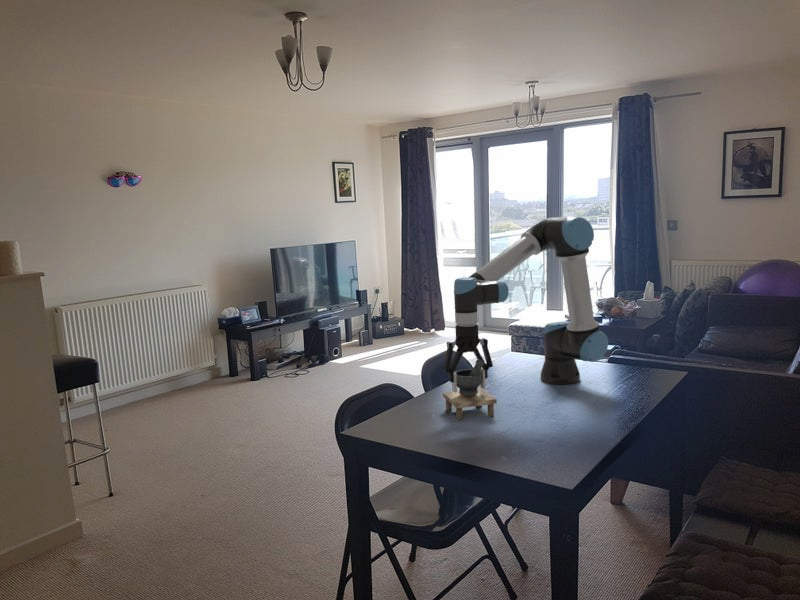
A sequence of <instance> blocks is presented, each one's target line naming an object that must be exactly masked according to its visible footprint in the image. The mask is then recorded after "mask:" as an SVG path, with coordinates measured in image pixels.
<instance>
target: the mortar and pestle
mask: <svg viewBox="0 0 800 600" xmlns="http://www.w3.org/2000/svg"><path fill="white" fill-rule="evenodd" d="M483 365H484V362H483V361H482V360H478V359H476V361H475V364H474V365H473V367H472V368H471V369H460V370H455V371H454V372H455V373H456V378H457V389H459V390H458V391H459V393H460V394H461V395H466V396H469V395H475V394H477V393H478V390H477V388H480V384H481V382H482V377H483V374H482V372H481V371H480V370H481V368H482V366H483ZM482 369H483V368H482Z"/></svg>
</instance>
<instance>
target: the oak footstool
mask: <svg viewBox="0 0 800 600" xmlns="http://www.w3.org/2000/svg"><path fill="white" fill-rule="evenodd" d="M477 390H478V393H477V394H475V395H469V396H466V395H461V394H460V393H459V390H457V392H456V393H455V392H453V391H445V392H442V397H443V398H444V400H445V411H446V410H447V412H451V411H452V410H453V407H454V408H455V413H456V414H455V416H456V417H455V418H456V421H457V422H462V421H463V419H464V417H463V409H464V408H472V407H473V408H474V407H477V408H482V407H483V406H487V416H488V417H490V418H492V417H495V411H494V410H495V404H498V403H497V402H498V401H497V398H496V397H494V396H493V395H491V394H490V393H488V392H487V391H486V390H485V389H482V388H481V387H478V388H477ZM448 410H449V411H448ZM450 410H451V411H450Z"/></svg>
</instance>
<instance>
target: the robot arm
mask: <svg viewBox="0 0 800 600" xmlns="http://www.w3.org/2000/svg"><path fill="white" fill-rule="evenodd" d="M594 231H595V230H594V228H593V226H592V224H591V222H590V221H588V220H587V219H586V218H584V217H581V216H572V215H571V216H560V217H559V216H558V217H554V216H552V217H549V218H545V219H542V220H541V221H539V222H537V223H536V224H534V225H533V226H531V227H530V228H528V229H527V230H526V231H524V232H523V233H522V234H521V235H520V239H518V240H517V241H515V242H514V243H512V245H510V246H509V247H507V248H506V249H505V250H503V251H502V252H501V253H499V254H497V256H495V257H494V258H493V259H491V260H490V261H489V262H487V263H486V264H485V265H483V266H482V267H480V268H479V269H478V270H476V271H475V272H474V273H472V274H471V275H469V276H467V277H458V278H455V279H454V283H453V294H454V295H453V296H454V299H453V300H454V318H455V322H454V323H455V324H456V325H455V340H454V341H447V342H446V348H447V349H446V354H445V358H444V364H443V371H445V372H446V373H448V378H449V379H448V380H449V383H451V388H452V389H451V390H452V391H453V392H455V393H456V392H457V391H458V387H457V378H456V373H455V371H456V369H457V368H458V364H459V362H460V361H461V359H462V358H461V357H462V356H463V355H464V354H465V353H473V354H474V356H475V358H476V360H482V361H483V362H484V365H483V366H482V368H481V370H480V371H481V372H482V374H483V377H482V382H481V384H480V386H479V388H482V389H483V390H486V379H488V374H489V373H488V371H489V370H490V368H492V367H494V365H493V361H492V360H493V359H492V357H491V353H490V350H489V346H488V344H489V343H488V342H489V341H488V339H487V338H485V337H484V338H483V337H482V338H479V325H478V323H479V315H478V314H479V313H478V312H479V310H478V306H481V305H482V306H483V305H488V304H489V305H490V304H499V303H504V302H506V301H507V300H508V298H509V294H510V293H509V286H508V285H507V283H506V281H504V280H502V279H503V278H504V277H505V276H507V275H508V274H510V272H512V271H513V270H514V269H516V268H517V267H519V266H520V265H522V263H524V262H525V261H526V260H528V259H529V258H530V257H532V256H533V255H535V256H537V255H539V254H540V253H541V252H544V251H547V250H552V249H553V250H554V252H555V257H556V258H558V260H560V264H561V270H562V271H561V272H562V277H563V278H562V279H563V282H564V290H565V297H566V305H567V310H568V319H569V321H566V320H565V321H554V322H550V323H546V324H545V326H544V331H543V332H544V333H543V339H544V340H543V341H544V361H543V364H542V368H541V371H540V381H542V382H544V383H548V384H553V385H571V384H572V385H573V384H576V383H578V382H580V381H581V373H580V371H579V367H578V365H577V362H576V359H577V360H581V361H582V362H590V363H595V362H598V361H600V360H601V359H602V358H603V357H604V356H605V354H606V352H607V350H608V346H609V338H608V336H607V334H606V333H605V332H603V331H601V330H600V323H599V321H597V320H596V319H595V318H594V317H595V316H594V310H593V302H592V297H591V296H592V295H591V289H590V283H589V282H590V281H589V274H588V266H587V260H586V257H587V255H588V254H589V252H590V249H589V248H590V247H591V246H592V244H593V241H594V239H595V234H594V233H595V232H594ZM479 344H480V345H481V348H482V352H483V356H484V358H483V356H482V355H481V353H480V351H479V349H478V345H479ZM455 346H456V347H457V349H456V351H455V355H454V357H453V353H454V348H455ZM452 358H453V359H452Z"/></svg>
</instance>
